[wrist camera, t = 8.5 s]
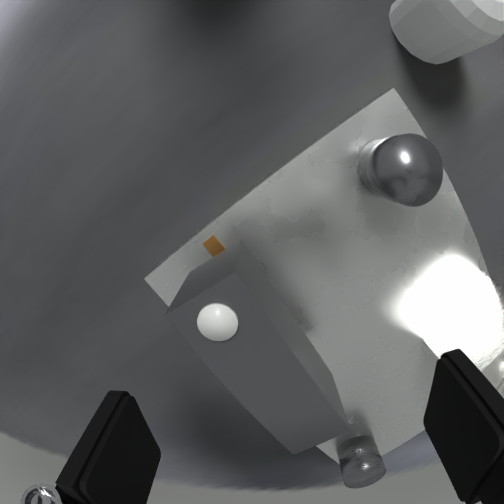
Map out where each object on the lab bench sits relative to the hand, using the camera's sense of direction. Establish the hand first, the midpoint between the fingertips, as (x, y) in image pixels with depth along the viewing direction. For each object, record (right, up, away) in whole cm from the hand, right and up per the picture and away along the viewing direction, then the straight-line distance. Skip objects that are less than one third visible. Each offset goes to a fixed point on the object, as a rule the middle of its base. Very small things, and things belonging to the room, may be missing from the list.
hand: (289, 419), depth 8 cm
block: (0, +2, +8) cm, 8 cm away
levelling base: (+6, +1, +11) cm, 13 cm away
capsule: (+10, +20, +6) cm, 23 cm away
